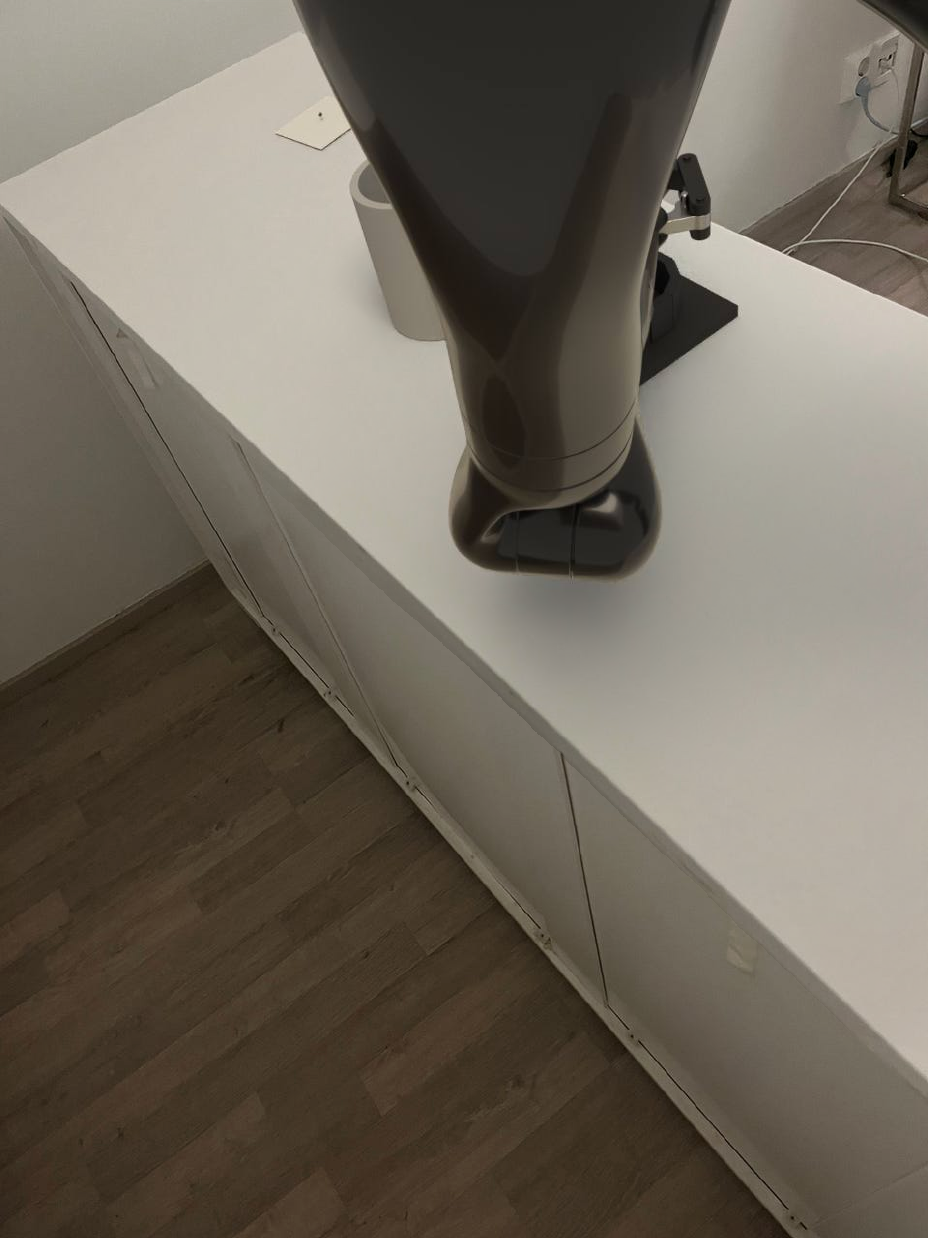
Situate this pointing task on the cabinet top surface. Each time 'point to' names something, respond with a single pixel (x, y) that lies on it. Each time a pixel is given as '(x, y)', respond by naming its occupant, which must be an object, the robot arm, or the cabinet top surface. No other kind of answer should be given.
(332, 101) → the coaster
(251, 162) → the cabinet top surface
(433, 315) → the cup
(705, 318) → the docking pad
